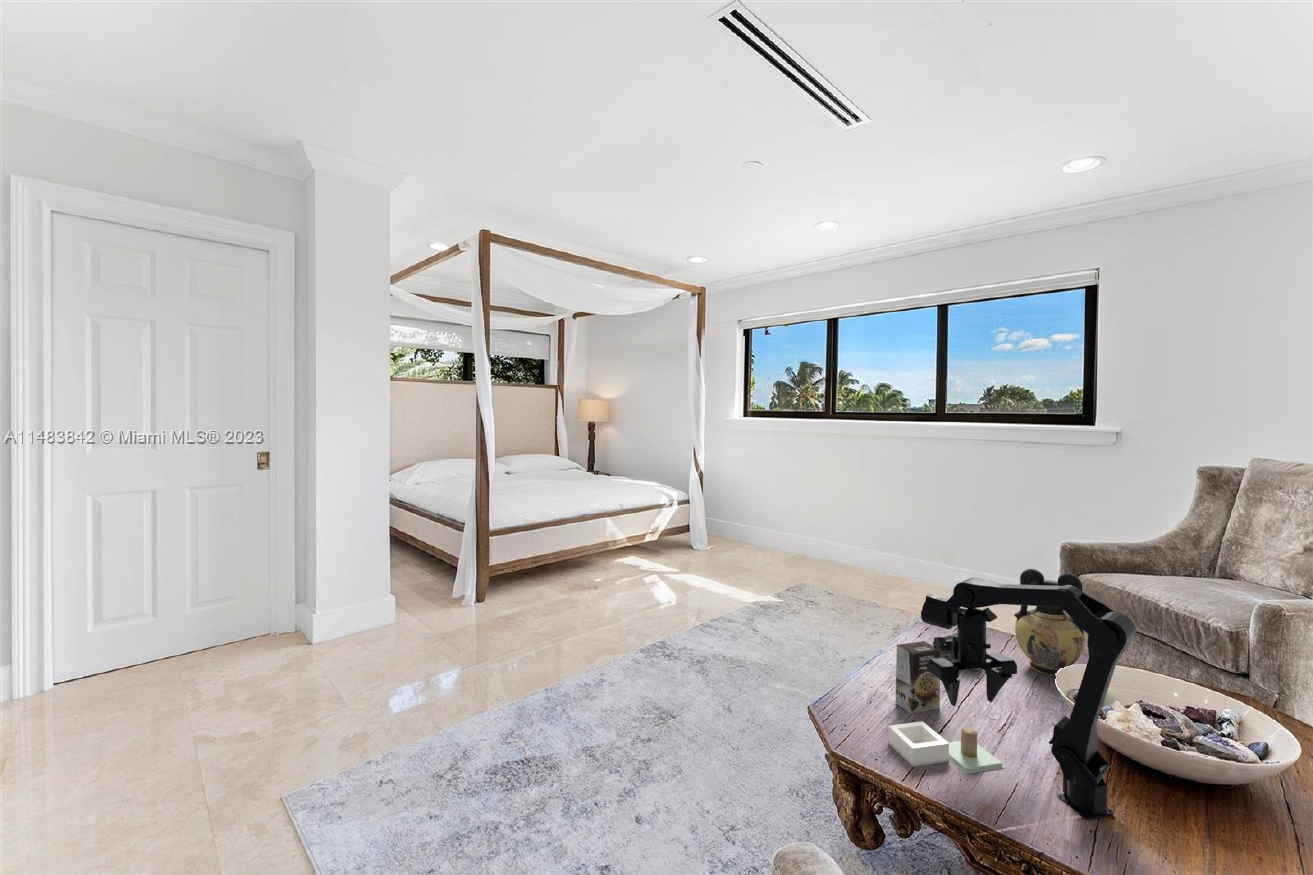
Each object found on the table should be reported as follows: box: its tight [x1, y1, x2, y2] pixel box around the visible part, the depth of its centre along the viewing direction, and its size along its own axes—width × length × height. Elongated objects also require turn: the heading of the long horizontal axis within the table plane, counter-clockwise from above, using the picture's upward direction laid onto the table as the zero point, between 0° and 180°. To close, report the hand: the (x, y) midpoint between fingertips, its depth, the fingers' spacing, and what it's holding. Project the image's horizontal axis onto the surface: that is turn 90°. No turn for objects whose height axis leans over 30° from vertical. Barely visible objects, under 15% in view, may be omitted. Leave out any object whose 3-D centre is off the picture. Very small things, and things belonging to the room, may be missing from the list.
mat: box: [949, 758, 1006, 775], centre depth 126 cm, size 10×10×1 cm
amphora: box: [1014, 568, 1086, 677], centre depth 167 cm, size 18×17×30 cm
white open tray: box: [887, 721, 950, 768], centre depth 128 cm, size 9×9×4 cm
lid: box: [948, 727, 1003, 772], centre depth 126 cm, size 9×9×6 cm
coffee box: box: [895, 640, 941, 714], centre depth 148 cm, size 9×6×16 cm
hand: (971, 703), depth 127 cm, fingers open, 9 cm apart
